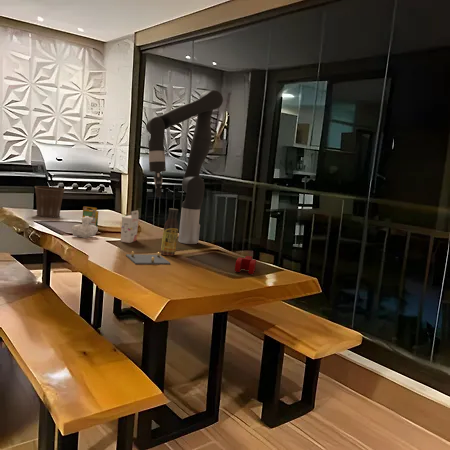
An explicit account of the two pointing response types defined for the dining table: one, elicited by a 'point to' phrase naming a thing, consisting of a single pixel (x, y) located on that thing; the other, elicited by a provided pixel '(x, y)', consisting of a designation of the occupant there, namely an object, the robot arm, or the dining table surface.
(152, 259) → the brass pins
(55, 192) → the plant pot
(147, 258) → the slate pad
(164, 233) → the sauce bottle
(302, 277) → the dining table surface
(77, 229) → the bust
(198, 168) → the robot arm
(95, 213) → the crayon box
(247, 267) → the mechanical linkage
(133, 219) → the ink cartridge box
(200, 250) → the dining table surface
